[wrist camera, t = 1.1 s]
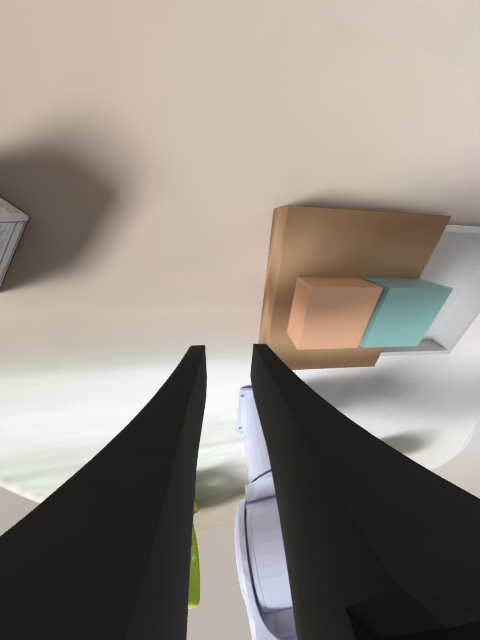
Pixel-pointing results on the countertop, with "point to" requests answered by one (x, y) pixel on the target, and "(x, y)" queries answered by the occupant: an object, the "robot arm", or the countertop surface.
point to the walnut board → (338, 267)
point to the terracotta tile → (331, 312)
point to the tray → (465, 299)
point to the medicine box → (9, 233)
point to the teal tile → (403, 311)
